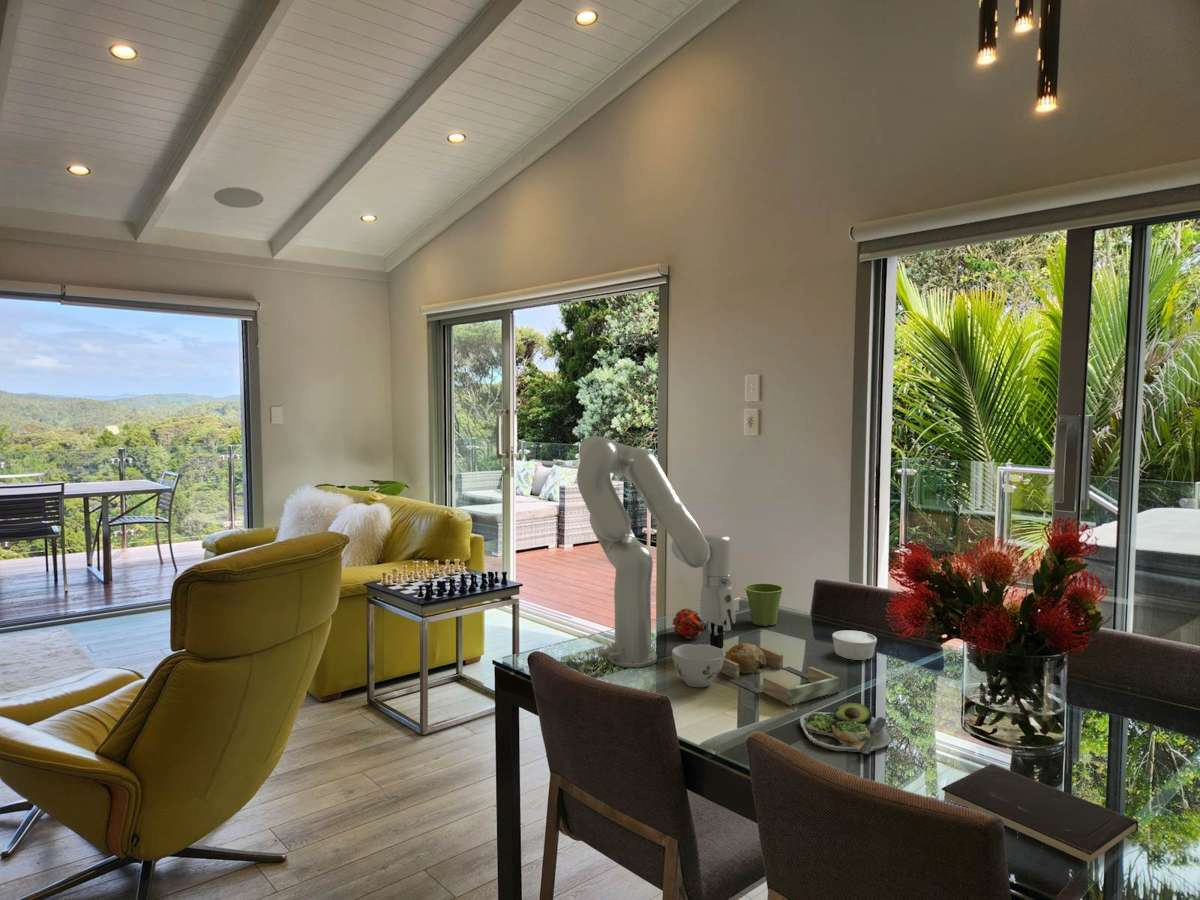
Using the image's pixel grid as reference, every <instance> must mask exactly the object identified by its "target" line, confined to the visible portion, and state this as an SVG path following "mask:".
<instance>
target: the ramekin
mask: <svg viewBox="0 0 1200 900" xmlns="http://www.w3.org/2000/svg"><path fill="white" fill-rule="evenodd" d="M831 636H832V640H833V646H834V652H835V653H836V655H837V656H838V655H839V656H841V657H844V658H847V659H853V660H852V661H854V660H864V661H867V660H866V659H869V660H870V658H871V659H872V658H873V657H874V654H875V650H876V644H877V642H878V639H877V637H876V636H875V635H874V634H871V633H868V632H865V631H861V630H860V631H859V630H851V629H850V630H838V631H835V632H833V633H832V635H831ZM839 656H838V657H839ZM841 657H840V658H841ZM844 658H843V659H844ZM847 659H846V660H847Z"/></svg>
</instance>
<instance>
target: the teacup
mask: <svg viewBox="0 0 1200 900" xmlns="http://www.w3.org/2000/svg"><path fill="white" fill-rule="evenodd" d="M724 656H726V653H725V651H724V650H723V648H721V649H720V648H717V647H714V646H710V644H700V643H699V644H692V643H691V644H681V645H679V646H676V647H673V648H672V649H671V657H672V662H673V666H674V668H675V670H676V673H677V674H678V676H679V677H680V679H682V680H683V681H684V683H685V684H686V685H687V686H689V687H691V688H692V687H693V688H706V687H709V686H710V685H711V683H713V682H714V680H715V679H716V678H718V676H719V674H720V673H721V672H720V670H721V668H722V665H723V660H724Z"/></svg>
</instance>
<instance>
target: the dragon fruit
mask: <svg viewBox="0 0 1200 900" xmlns="http://www.w3.org/2000/svg"><path fill="white" fill-rule="evenodd" d="M672 619H673V620H672V625H673V626H674V632H675V634H676V633H677V634H678V635H681V636H682V637H683V636H686V637H690V636H691V637H690V639H689V640H693V638H692V637H693V635H694V637H695V635H696V636H697V637H699V636H700V635H701V634H702V632H704V631H706V630H707V627H708V626H707V624H706V625H704V624H705V623H704V622H703V619H702V617H701V616H699V612H698V611H694V610H692V609H691V608H682V609H680V610H679V611H678V612H677V613H675V617H673V618H672ZM677 634H676V635H677Z"/></svg>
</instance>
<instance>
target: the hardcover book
mask: <svg viewBox="0 0 1200 900" xmlns="http://www.w3.org/2000/svg"><path fill="white" fill-rule="evenodd" d="M941 790H942V791H943V792H944V799H946V800H948V799H949V800H948V801H951V800H952V801H951V802H953V801H954V802H953V803H955V804H957V805H959V806H961V805H963V806H962V807H964V806H966V807H969V808H973V809H976V810H979V811H982V812H985V813H988V814H992V815H995V816H997V817H998V818H1000V819H1001V820H1002V821H1003V823H1004V824H1003V825H1004V826H1006V827H1009V828H1011V829H1013V830H1015V831H1017V832H1020V833H1021V834H1025V836H1028V837H1031V838H1034V839H1036V840H1037V841H1040V842H1042V843H1044V844H1046V845H1048V846H1050V847H1053V848H1054V849H1057V850H1059V851H1062V852H1065V853H1066V854H1069V855H1070V856H1073V857H1076V858H1078V859H1079V860H1082V861H1084V862H1086V863H1089V864H1091V863H1092V862H1093V861H1094V860H1096V859H1097V858H1098V857H1100V856H1101V855H1103V854H1104V853H1105V852H1107V851H1108V850H1110V849H1111V848H1112V847H1114V846H1115V845H1116V844H1118V843H1119V842H1121V841H1122V840H1124V839H1125V838H1126V837H1128V836H1129V835H1130V834H1133V832H1135V831H1138V830H1139V821H1138V819H1135V818H1133V817H1130V816H1128V815H1125V814H1122V813H1120V812H1118V811H1114V810H1113V809H1110V808H1107V807H1104V806H1102V805H1099V804H1097V803H1094V802H1092V801H1089V800H1087V799H1083V798H1081V797H1079V796H1076V795H1074V794H1071V793H1069V792H1066V791H1063V790H1060V789H1058V788H1056V787H1053V786H1050V785H1048V784H1045V783H1042V782H1040V781H1038V780H1036V779H1032V778H1031V777H1027V776H1024V775H1023V774H1022V775H1021V774H1019V773H1017V772H1014V771H1011V770H1009V769H1006V768H1004V767H1002V766H999V765H995V764H993V763H991V764H988V765H985V766H984V767H981V768H980V769H978V770H976V771H974V772H972V773H970V774H967V775H965V776H964V777H962V778H959V779H957V780H956V781H953V782H951V783H949V784H948V785H945V786H943V787H942V788H941ZM966 807H965V808H966Z"/></svg>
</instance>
